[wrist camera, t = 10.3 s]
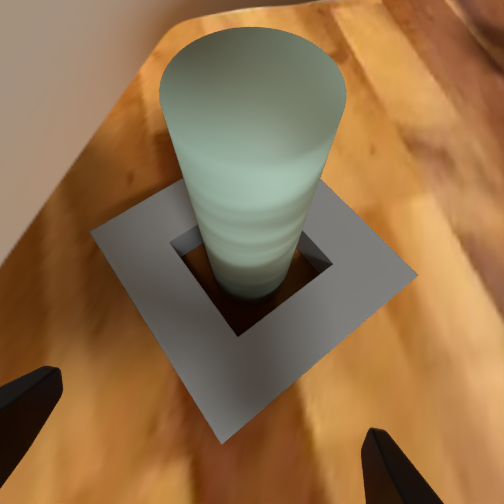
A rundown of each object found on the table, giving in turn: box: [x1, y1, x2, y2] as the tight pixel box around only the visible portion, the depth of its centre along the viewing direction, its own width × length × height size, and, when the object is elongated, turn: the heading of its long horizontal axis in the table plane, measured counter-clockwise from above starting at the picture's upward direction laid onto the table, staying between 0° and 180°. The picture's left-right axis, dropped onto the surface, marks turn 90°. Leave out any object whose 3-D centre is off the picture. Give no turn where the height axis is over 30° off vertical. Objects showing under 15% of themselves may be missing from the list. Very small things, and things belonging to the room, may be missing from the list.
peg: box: [159, 27, 346, 305], centre depth 13 cm, size 4×4×13 cm
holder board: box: [90, 178, 418, 444], centre depth 18 cm, size 13×13×2 cm
